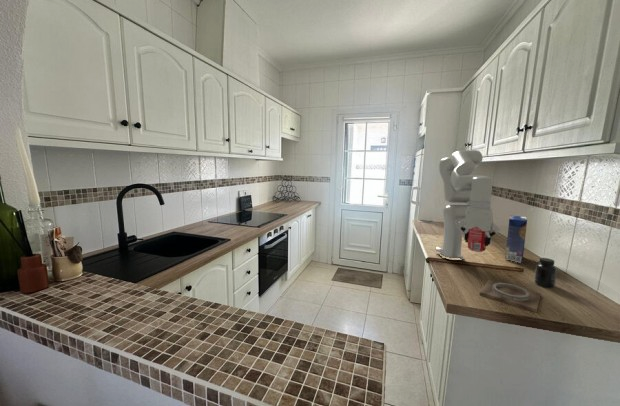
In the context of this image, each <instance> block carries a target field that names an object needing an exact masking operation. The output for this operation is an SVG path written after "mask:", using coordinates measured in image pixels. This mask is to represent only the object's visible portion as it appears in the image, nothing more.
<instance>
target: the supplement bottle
mask: <svg viewBox="0 0 620 406" xmlns="http://www.w3.org/2000/svg"><path fill="white" fill-rule="evenodd" d="M556 279H557V267H556V266H555V260H554V259H553V258H552V259H551V258H547V257H540V258H539V262H538V263H537V264H536V265H535V271H534V283H535V285H537V286H540V287H543V288H545V289H546V288H548V289H552V288H555V287H556Z"/></svg>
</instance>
